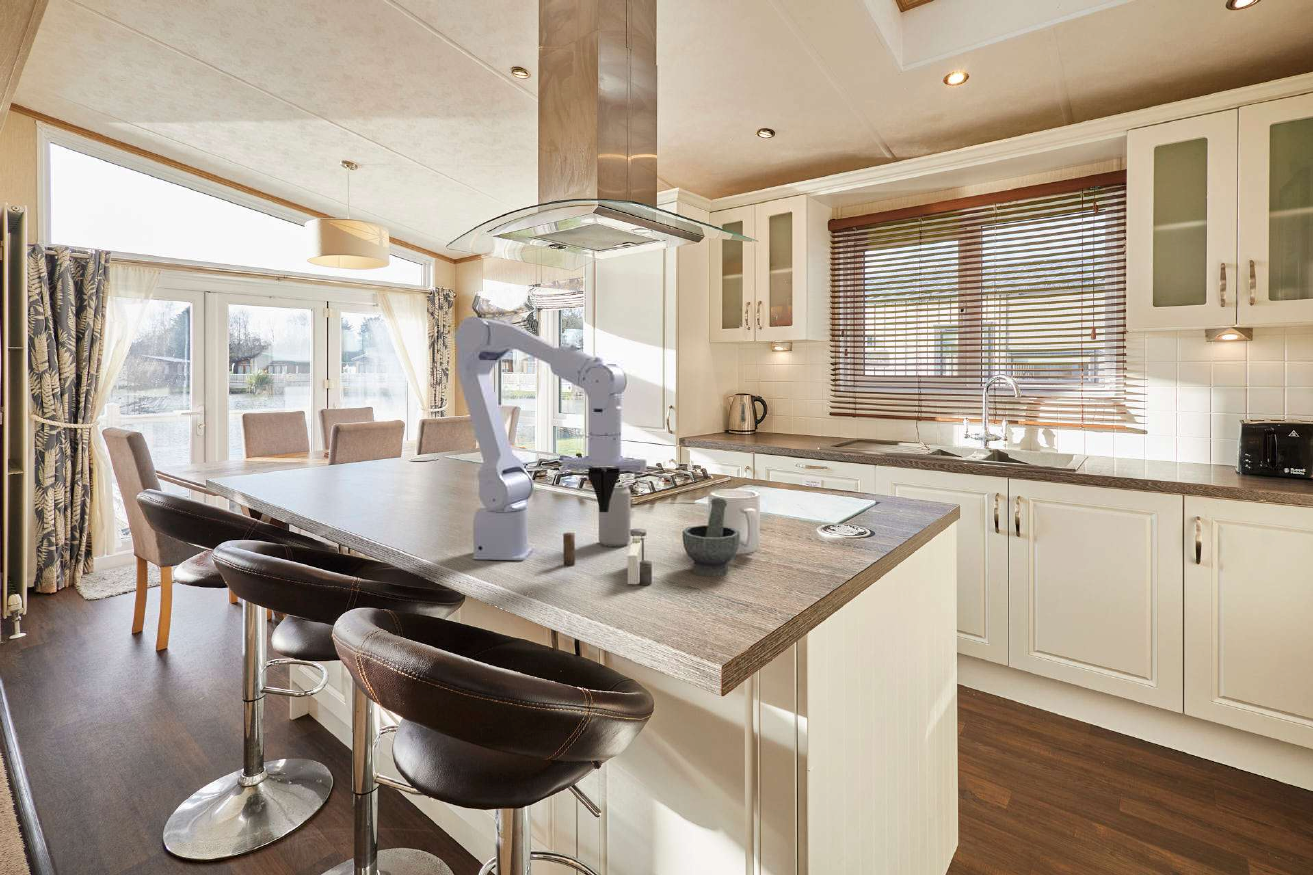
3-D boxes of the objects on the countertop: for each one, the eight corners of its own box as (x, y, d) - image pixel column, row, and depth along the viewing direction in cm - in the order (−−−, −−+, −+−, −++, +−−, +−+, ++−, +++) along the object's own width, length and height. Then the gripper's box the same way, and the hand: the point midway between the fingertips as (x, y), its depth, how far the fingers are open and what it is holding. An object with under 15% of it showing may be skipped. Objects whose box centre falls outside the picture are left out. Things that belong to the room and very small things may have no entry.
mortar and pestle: (729, 581, 104) (731, 510, 103) (675, 575, 108) (676, 505, 107) (745, 563, 115) (746, 497, 114) (695, 557, 118) (696, 494, 117)
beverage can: (626, 548, 124) (626, 488, 123) (594, 546, 125) (594, 486, 124) (633, 540, 130) (633, 482, 129) (603, 538, 132) (603, 481, 130)
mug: (778, 555, 120) (780, 499, 119) (731, 560, 116) (732, 503, 115) (742, 538, 133) (743, 487, 132) (698, 542, 129) (699, 491, 128)
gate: (631, 561, 114) (631, 528, 114) (646, 561, 114) (646, 528, 114) (623, 583, 102) (623, 546, 102) (641, 584, 102) (641, 547, 101)
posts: (550, 582, 103) (550, 549, 103) (564, 562, 115) (564, 532, 114) (651, 585, 102) (651, 552, 102) (655, 564, 114) (655, 534, 113)
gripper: (648, 432, 114) (647, 507, 115) (568, 431, 115) (568, 505, 116) (644, 436, 107) (643, 516, 108) (559, 434, 108) (559, 513, 109)
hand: (604, 511), depth 112 cm, fingers closed
